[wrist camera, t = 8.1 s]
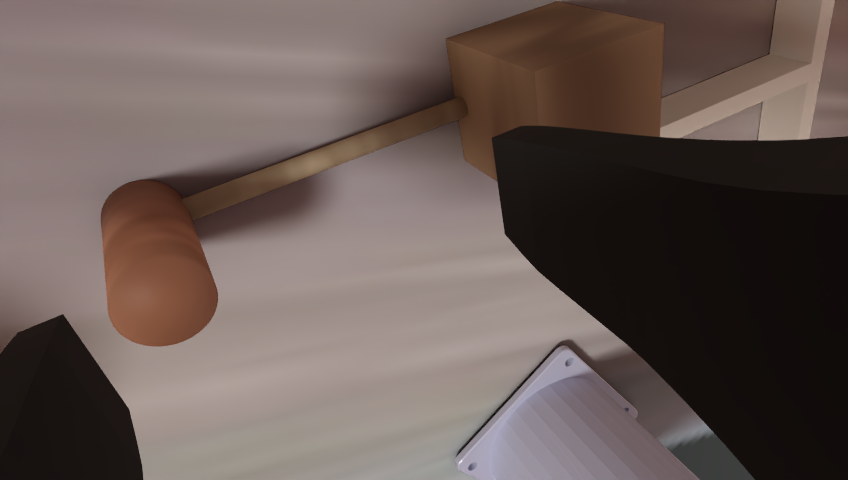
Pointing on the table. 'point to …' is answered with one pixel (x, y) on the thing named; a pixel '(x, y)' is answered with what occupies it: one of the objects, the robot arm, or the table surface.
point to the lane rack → (763, 80)
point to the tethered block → (478, 120)
